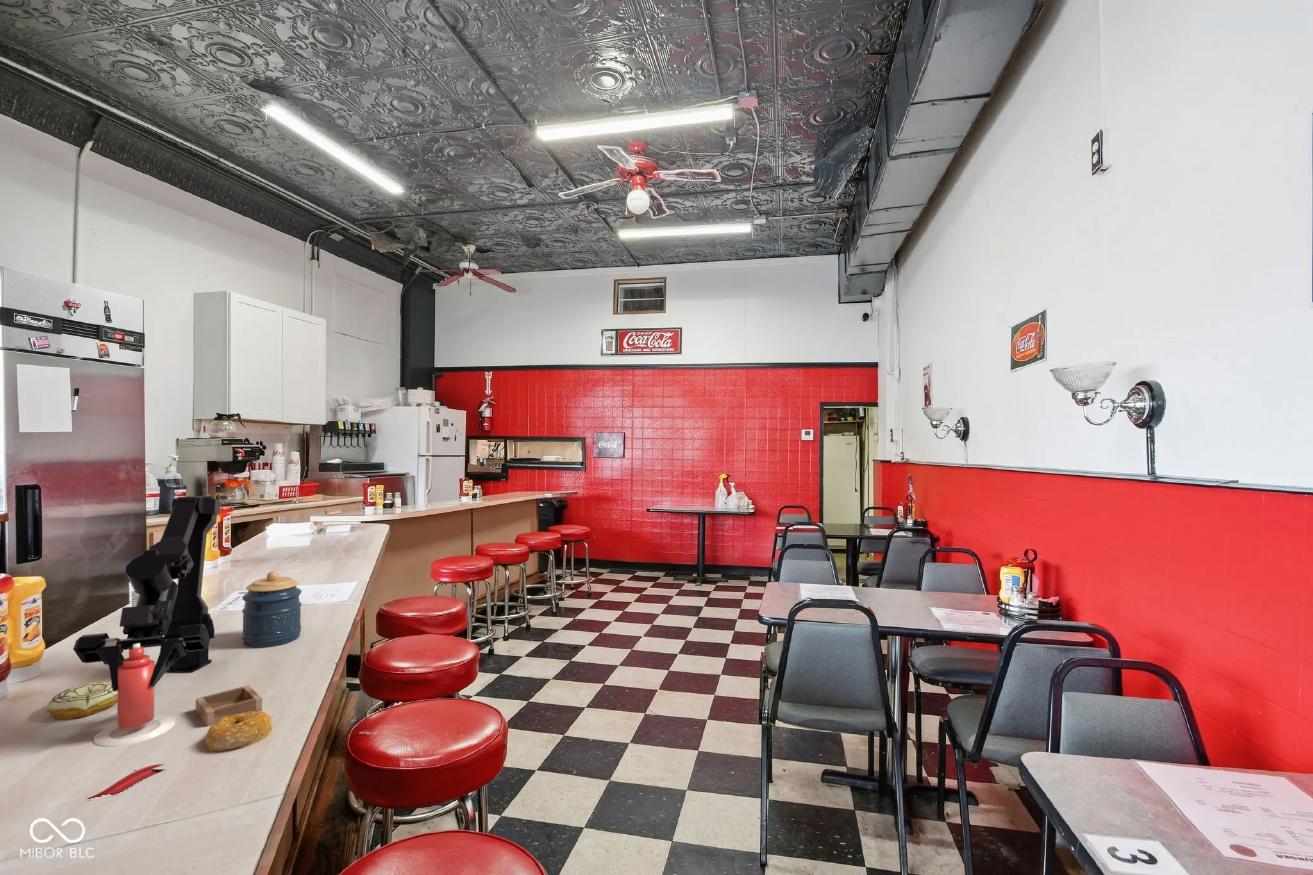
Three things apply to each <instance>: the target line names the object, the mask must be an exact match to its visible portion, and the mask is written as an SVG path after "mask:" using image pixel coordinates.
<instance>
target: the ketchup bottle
mask: <svg viewBox="0 0 1313 875" xmlns="http://www.w3.org/2000/svg"><path fill="white" fill-rule="evenodd" d="M144 651H145V648H144V647H140V643H136V644H133V648H131V649H128V657H127V658H124V660H123V665H122V666H120V667H118V702H117V707H116V708H117V712H116V713H117V714H116V715H117V716H116V717H117V726H118V727H120V728H131V727H136V726H140V725H143V724H146V723H148V722H150V721H152V720H153V719H154V715H155V686H154V687H152V686H151V679H152V674H153V672H154V669H155V666H156V664H155V660H151V659H150V655H147V654H145V652H144Z"/></svg>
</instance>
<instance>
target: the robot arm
mask: <svg viewBox="0 0 1313 875" xmlns="http://www.w3.org/2000/svg"><path fill="white" fill-rule="evenodd" d="M220 513H221V500H219V499H217V498H215V496H214V495H194V496H193V495H191V496H189V495H188V496H178V497H174V498H173V499H172V500H171V513H170V515H169V518H168V521H167V523H166V525H165V528H164V530H163V533H162V536H161V538H160V540H159V541H157V542H156V543H154V544H153V545H151V546H150V547H149V548H148V549H145V550H144V551H143V554H142V555H140V556H136V557H135V558H134V559H132V560H131V561H130V562H129V563H127V565H126V567H125V574H126V576H127V578H128V580H129V582H130V584H131V587H132V588H133V590H134V593H135V594H138V597H137V598H138V599H137V601H136V605H135V606H127V607H122V608H121V614H120V615H121V616H120V621H119V627H120V628H122V627H123V629H122V633H123V635H127V636H126V638H119V637H110V636H109V634H108V632H103V633H101V632H100V633H94V634H83V635H81V636H80V637H78V638H77V639H76V640H75V642H74V646H73V648H72V650H73V651H74V653H75V654H76V655H77V657H78V659H79V660H80V661H81V663H85V664H90V663H91V664H92V663H100V662H101V663H103V664H104V665H106V666H108V668H109V675H110V682H111V683H112V689H113V691H117V690H118V667H120V666H122V665H123V660H124V659H125V657H124V656H123V653H124V651H125V650H129V649H131V648H133V644H136V643H140V647H144V649H145V648H146V649H147V648H155V647H160V651H159V655H158V657H157V661H156V664H155V669H154V672H153V674H152V679H151V686H152V687H154V688H155V686H156V685H157V684H158V683H159V681H160V680H161V679H162V678H163V677H164V675H165V674H166V673H192V672H194V671H197V670H198V669H200V668H202V667H205V666H207V665H208V664H211V663H212V661H213V660H212V659H210V658H209V650H210V649H209V645H210V640H211V639H215V627H214V626H215V624H214V621H213V619H212V616H211V614H210V613H209V606H208V605H207V604H206V602H205V600H204V599H203V598H202V590H203V588H202V587H203V578H204V577H203V576H204V568H205V567H204V566H205V557H206V545H207V537H208V536H207V535H208V533H209V532H210V531H211V530H212V529H213V527H215V525H216V523H217V519H218V515H220ZM174 580H177V582H175V581H174Z"/></svg>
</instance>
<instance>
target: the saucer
mask: <svg viewBox="0 0 1313 875" xmlns="http://www.w3.org/2000/svg"><path fill="white" fill-rule="evenodd" d="M175 723H176V719H175V717H173V716H172V715H167V714H154V719H153V720H152V721H150V722H148V723H146V724H143V725H140V726H136V727H131V728H120V727H118V726H117V723H114V724H112V725H109V726H107V727H106V728H104V729H102V730H100V731H99V732H98V733H97V734H95V735H94V737H93V743H94V744H95V745H97V746H100V747H119V746H127V745H132V744H136V743H140V742H143V741H147V740H150V739H152V738H156V737H158V736H159V735H162V734H163V733H165V732H168V731H169V730H170V729H172V727H174V725H175Z"/></svg>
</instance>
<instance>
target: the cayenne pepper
mask: <svg viewBox="0 0 1313 875" xmlns="http://www.w3.org/2000/svg"><path fill="white" fill-rule="evenodd" d="M164 765H165V763H157V764H152V765H148V766H145V767H142V768H140V769H138V770H136V771H133V772H131V773H129V774H127V775H126V776H123V777H122V778H121V779H119V780H118V781H116V782H115V783H113V784H112V785H110V786H109V787H107V788H105V789H104V790H103V791H100V792H98V793H96V794H94V795H93V796H90V797H87V798H86V799H91V798H95V797H101V796H102V795H108V794H110V795H115V794H117V795H119V794H118V793H120V792H122V793H124V792H125V791H124V790H126V789H127V790H128V788H129V787H131V788H132V787H134V786H135V785H137V784H139V783H140V782H142V781H144V780H145V779H146V780H147V779H149V778H150V777H152V776H154V775H156V774H159V773H161V772H163V771H166V769H165V768H164V769H163V768H161V769H159V768H158V767H161V766H164ZM155 768H156V769H155ZM157 768H158V769H157ZM143 779H144V780H143ZM139 781H140V782H139ZM136 783H137V784H136ZM134 784H135V785H134ZM133 785H134V786H133ZM129 789H130V788H129ZM127 790H126V791H127ZM123 791H124V792H123ZM120 794H121V793H120ZM115 796H116V795H115Z"/></svg>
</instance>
